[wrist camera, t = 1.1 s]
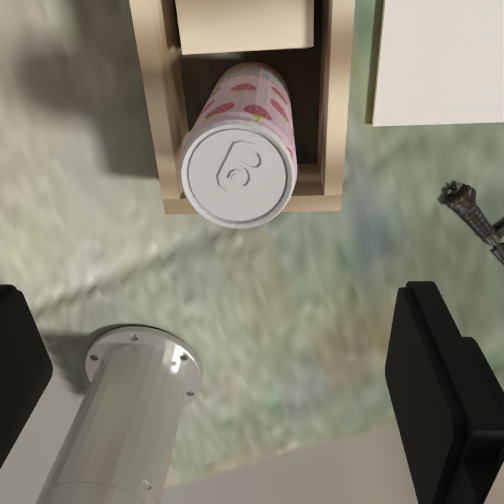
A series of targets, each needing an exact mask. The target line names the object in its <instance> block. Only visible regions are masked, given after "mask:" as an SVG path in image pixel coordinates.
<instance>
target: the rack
mask: <svg viewBox="0 0 504 504" xmlns="http://www.w3.org/2000/svg"><path fill="white" fill-rule="evenodd" d="M129 3H130V8H131V14H132V20H133V26H134V32H135V38H136V44H137V50H138V56H139V62H140V68H141V74H142V79H143V85H144V91H145V97H146V103H147V109H148V115H149V121H150V127H151V133H152V139H153V145H154V150H155V156H156V162H157V168H158V174H159V180H160V186H161V192H162V198H163V204H164V210H165V214H199V213H198V212H197V211H195V210H194V208H193V207H192V206H191V205H190V203H189V202H188V201H187V199H186V197H185V195H184V193H183V190H182V187H181V183H180V174H179V167H180V164H179V162H180V156H181V151H182V149H183V146H184V144H185V141H186V139H187V137H188V136H189V128H188V120H187V112H186V103H185V95H184V87H183V79H182V71H181V63H180V55H179V47H178V39H177V31H176V22H175V14H174V6H173V0H129ZM354 10H355V0H323V5H322V35H321V65H320V95H319V125H318V155H317V164H297V179H296V183H295V186H294V189H293V192H292V195H291V198H290V199H289V201H288V203H287V204H286V206H285V207H284V208H283V209H282V211H281V212H304V211H341V203H342V188H343V173H344V159H345V144H346V129H347V114H348V99H349V84H350V69H351V54H352V40H353V25H354Z"/></svg>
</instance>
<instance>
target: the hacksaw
mask: <svg viewBox="0 0 504 504" xmlns="http://www.w3.org/2000/svg"><path fill="white" fill-rule="evenodd" d="M452 187H453V189H449V190H448V191H447V193H448V194H450V195H449V196H448V197H447V198H446V199H445V201H446V204H447V205H448V206H449V208H455V209H456V210H457V211H458V212H459V213H460V214H461V215H462V216H463V217H464V218H465V219H466V220H467V221H468V222H469V223H470V224H471V225H472V226H473V227H474V228H475V229H476V230H477V232H478V233H479V234H480V236H481V238H483V239H484V240H485V241H486V243H487V244H489V245H495V247H496V248H497V249H496V250H494V251H493V252H494V254H495V255H496V256H497V258H499V259H500V261H501V262H502V263H504V243H503V244H502V245H500V244H499V241H500V239H501V238H502V237H503V236H504V223H502V224H501V225H500V226H498V227H497V228H496V229H494V228H493V227H492V226H491V225H490V223H489V222H488V220H487V218H486V217H485V216H484V215H483V213H482V212H481V210H480V208H479V207H478V206H477V204H476V201H475V198H476V190H475V189H474V188H471V187H470V186H469V185H463V186H462V184H461V183H458V184H457V185H456V187H455V186H454V185H452Z"/></svg>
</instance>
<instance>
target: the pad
mask: <svg viewBox="0 0 504 504" xmlns="http://www.w3.org/2000/svg"><path fill="white" fill-rule="evenodd" d="M490 122H504V0H384V3H383V13H382V24H381V34H380V44H379V54H378V65H377V75H376V85H375V96H374V106H373V116H372V126H400V125H430V124H460V123H490Z"/></svg>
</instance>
